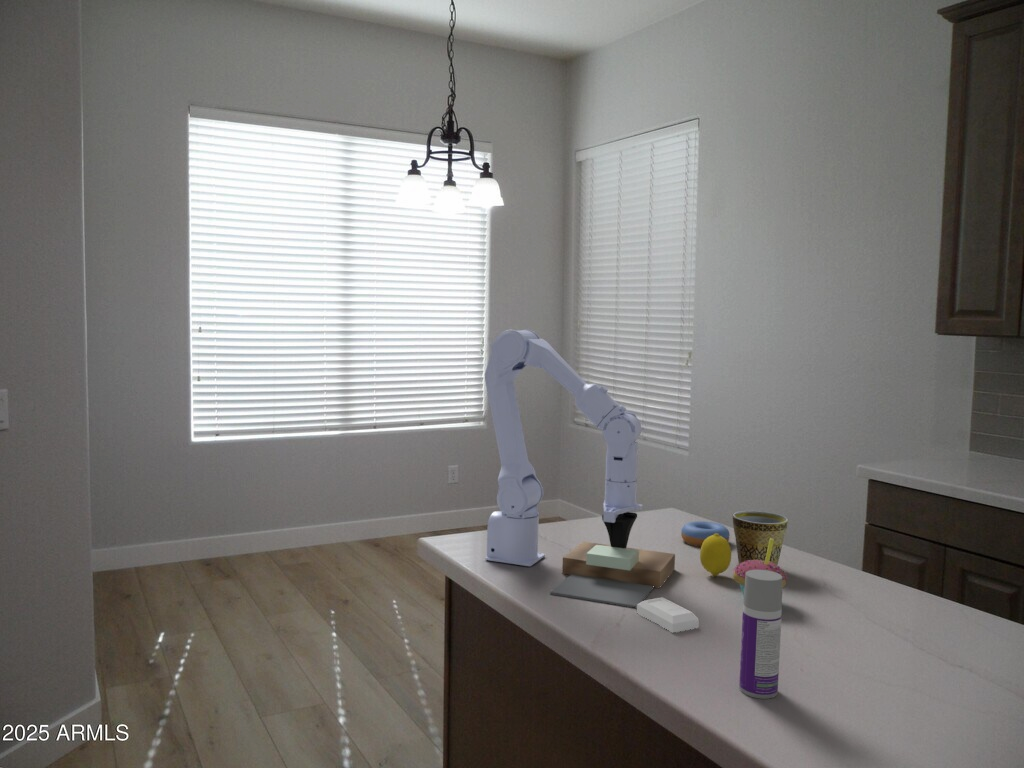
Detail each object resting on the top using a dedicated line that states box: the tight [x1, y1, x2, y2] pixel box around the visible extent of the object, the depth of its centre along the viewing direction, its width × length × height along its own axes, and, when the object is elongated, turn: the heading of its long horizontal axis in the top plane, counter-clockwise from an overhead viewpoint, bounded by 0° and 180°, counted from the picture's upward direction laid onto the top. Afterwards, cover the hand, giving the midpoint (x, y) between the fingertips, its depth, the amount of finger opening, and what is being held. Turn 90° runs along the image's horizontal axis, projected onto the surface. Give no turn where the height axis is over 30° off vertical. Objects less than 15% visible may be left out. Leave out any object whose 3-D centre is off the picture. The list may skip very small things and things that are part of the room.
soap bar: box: [636, 596, 699, 634], centre depth 128 cm, size 5×9×3 cm, turn 28°
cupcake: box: [732, 535, 788, 599], centre depth 137 cm, size 9×8×12 cm
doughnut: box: [680, 520, 730, 548], centre depth 174 cm, size 10×10×5 cm
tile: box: [586, 545, 639, 571], centre depth 147 cm, size 8×6×2 cm
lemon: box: [699, 533, 732, 577], centre depth 150 cm, size 6×6×8 cm
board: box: [561, 541, 676, 588], centre depth 152 cm, size 18×12×3 cm, turn 67°
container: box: [739, 570, 783, 700], centre depth 104 cm, size 5×5×15 cm
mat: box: [549, 574, 654, 609], centre depth 141 cm, size 15×11×1 cm
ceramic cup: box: [732, 510, 789, 566], centre depth 157 cm, size 13×10×10 cm
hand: (618, 552), depth 151 cm, fingers closed
